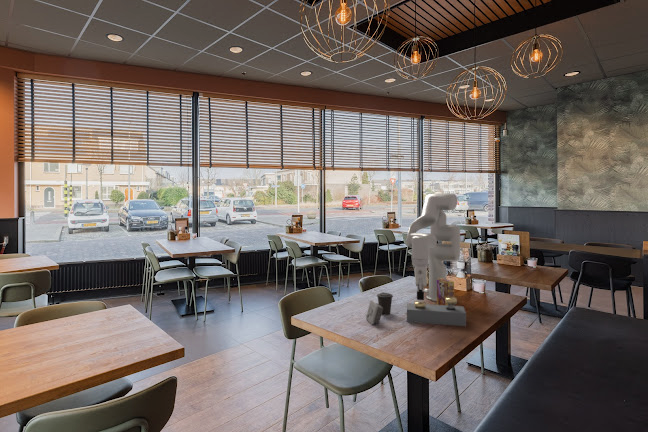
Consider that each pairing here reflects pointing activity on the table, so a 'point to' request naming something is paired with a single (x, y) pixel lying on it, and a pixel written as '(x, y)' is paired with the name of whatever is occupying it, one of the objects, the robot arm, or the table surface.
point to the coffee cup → (385, 302)
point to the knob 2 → (451, 302)
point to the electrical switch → (374, 313)
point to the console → (436, 315)
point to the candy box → (444, 290)
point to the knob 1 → (419, 304)
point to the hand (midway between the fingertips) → (420, 299)
